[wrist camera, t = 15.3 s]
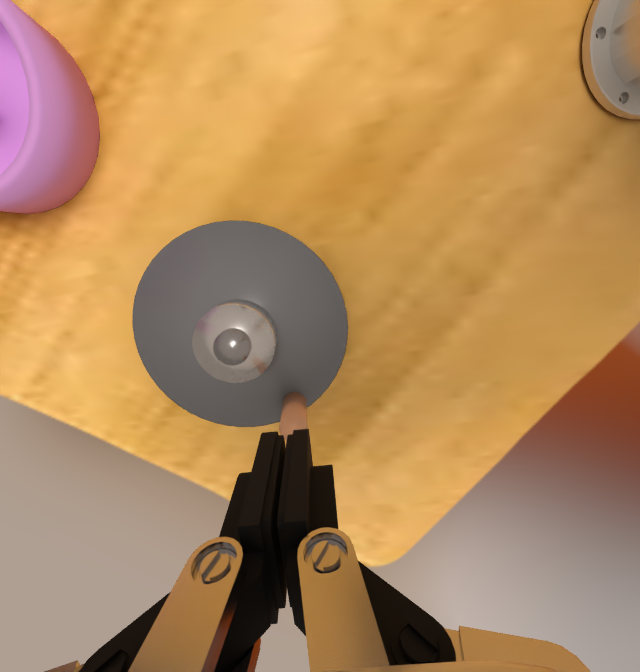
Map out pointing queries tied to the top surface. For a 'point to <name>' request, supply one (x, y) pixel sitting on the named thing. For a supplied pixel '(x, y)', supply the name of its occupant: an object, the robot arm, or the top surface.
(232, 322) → the cover
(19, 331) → the top surface
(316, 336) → the grey domed disc
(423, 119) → the top surface
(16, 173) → the container set
